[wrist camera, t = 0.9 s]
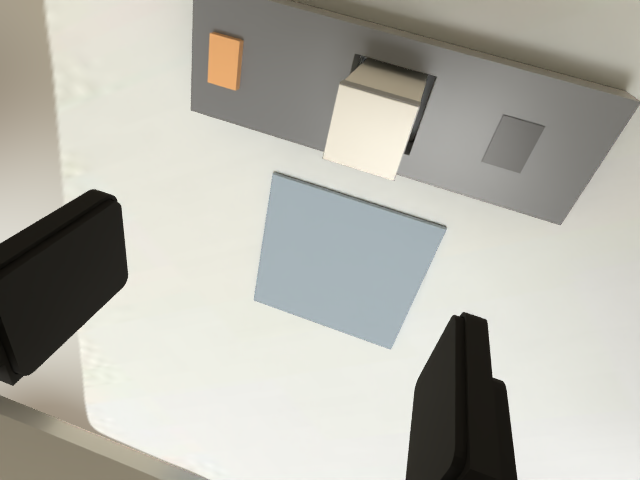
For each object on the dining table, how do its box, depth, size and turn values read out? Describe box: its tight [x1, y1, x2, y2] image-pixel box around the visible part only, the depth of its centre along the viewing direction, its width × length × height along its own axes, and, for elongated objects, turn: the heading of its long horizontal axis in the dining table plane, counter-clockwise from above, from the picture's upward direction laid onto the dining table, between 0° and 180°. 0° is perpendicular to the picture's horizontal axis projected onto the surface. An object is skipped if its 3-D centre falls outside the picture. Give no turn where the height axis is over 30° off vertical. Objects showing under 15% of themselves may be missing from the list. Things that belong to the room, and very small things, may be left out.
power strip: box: [191, 0, 640, 225], centre depth 26 cm, size 26×8×3 cm, turn 79°
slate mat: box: [254, 172, 446, 349], centre depth 36 cm, size 14×14×1 cm
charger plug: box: [322, 58, 428, 181], centre depth 25 cm, size 4×4×8 cm
